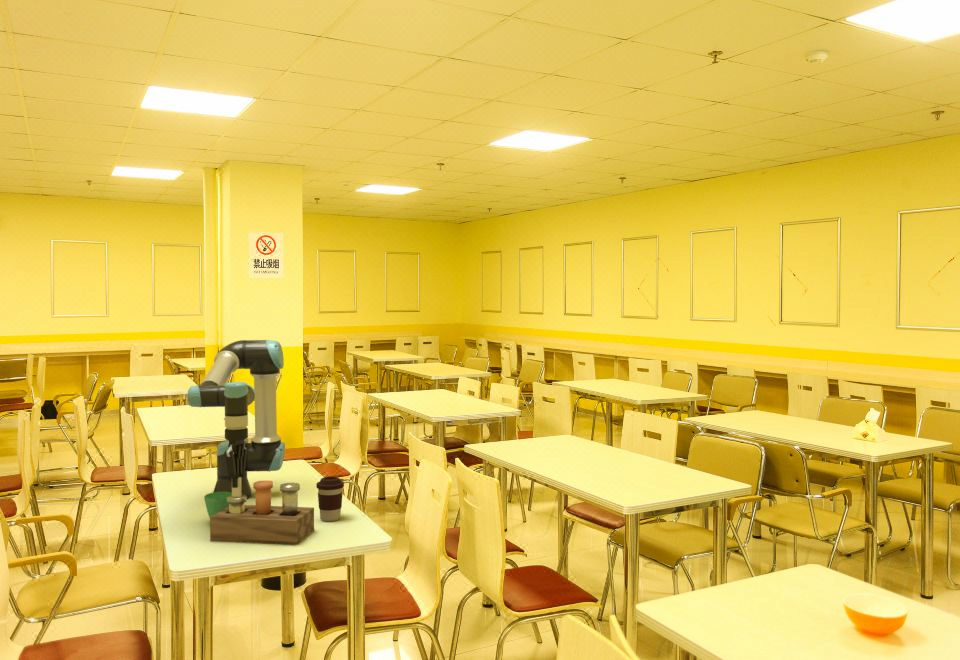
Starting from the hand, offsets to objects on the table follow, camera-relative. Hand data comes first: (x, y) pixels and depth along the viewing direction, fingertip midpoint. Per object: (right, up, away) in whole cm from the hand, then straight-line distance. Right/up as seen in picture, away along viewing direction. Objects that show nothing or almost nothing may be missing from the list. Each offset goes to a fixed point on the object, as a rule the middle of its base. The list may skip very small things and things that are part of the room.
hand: (236, 496), depth 246 cm
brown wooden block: (+9, -13, -1) cm, 16 cm away
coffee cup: (+28, -13, +19) cm, 36 cm away
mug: (-10, -13, +16) cm, 23 cm away
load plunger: (+9, -6, -1) cm, 11 cm away
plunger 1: (0, -11, 0) cm, 11 cm away
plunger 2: (+19, -6, -2) cm, 20 cm away
